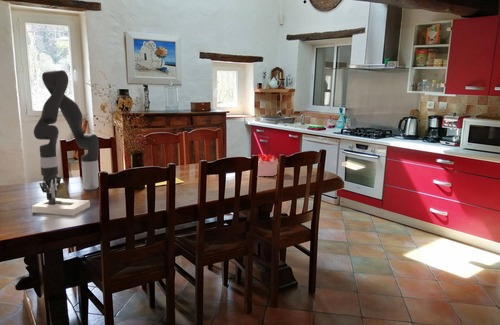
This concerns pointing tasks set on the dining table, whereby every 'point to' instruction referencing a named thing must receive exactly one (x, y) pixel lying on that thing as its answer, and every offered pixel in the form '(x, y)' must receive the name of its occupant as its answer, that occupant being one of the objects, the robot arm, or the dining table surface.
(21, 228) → the dining table surface
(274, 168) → the cake
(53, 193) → the bolt
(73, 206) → the keyhole board
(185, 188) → the dining table surface
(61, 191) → the rock
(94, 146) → the robot arm
